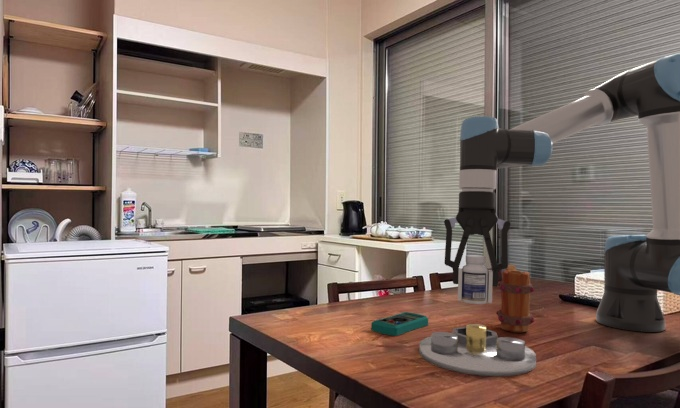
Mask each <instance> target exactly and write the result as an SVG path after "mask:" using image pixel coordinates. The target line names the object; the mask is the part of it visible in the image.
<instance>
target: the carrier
mask: <svg viewBox="0 0 680 408" xmlns="http://www.w3.org/2000/svg"><path fill="white" fill-rule="evenodd" d="M498 336H499V335H498V334H497V331H494V330H491V329H487V326H486V325H483V324H479V323H468V324H466V326H460V327H454V328H452V332H447V331H436V332H435V331H434V332H432V333H431V335H430V336H428V337H425V338H423V339H422V340H421V341H420V342H419V349H418V350H419V356H420V357H421V358H422V360H424V361H425V362H427V363H429V364H431V365H434V366H436V367H439V368H441V369H444V370H449V371H452V372H456V373H460V374H465V375H473V376H482V377H511V376H518V375H519V376H520V375H524V374H528V373H530V372H531V370H532V371H533V370H535V368H536V367H537V354H536V353H535V352H534V350H533V349H532V348H530V347H528V346H526V342H525V340H523V339H520V338H516V337H509V336H504V337H503V336H502V337H498ZM529 371H530V372H529Z"/></svg>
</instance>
